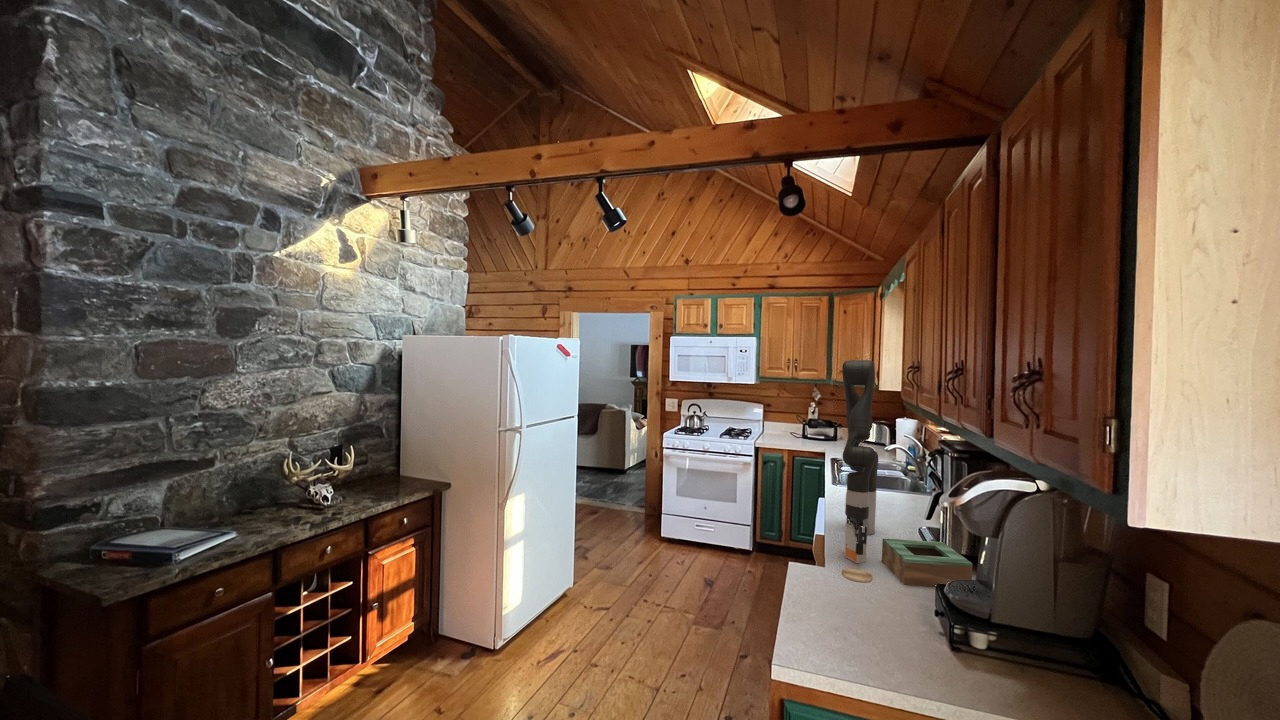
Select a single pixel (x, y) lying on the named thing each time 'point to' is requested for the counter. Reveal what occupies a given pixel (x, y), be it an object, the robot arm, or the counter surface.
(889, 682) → the counter surface
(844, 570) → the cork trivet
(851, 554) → the skincare box
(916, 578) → the caddy
